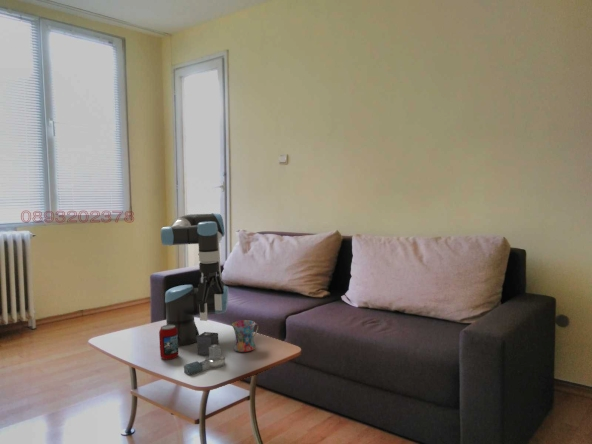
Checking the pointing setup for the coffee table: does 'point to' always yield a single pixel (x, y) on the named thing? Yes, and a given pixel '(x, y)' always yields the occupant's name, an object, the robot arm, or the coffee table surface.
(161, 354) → the beverage can
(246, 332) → the mug
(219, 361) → the faucet
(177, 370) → the coffee table surface
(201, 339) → the cube with silver knob
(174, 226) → the robot arm
